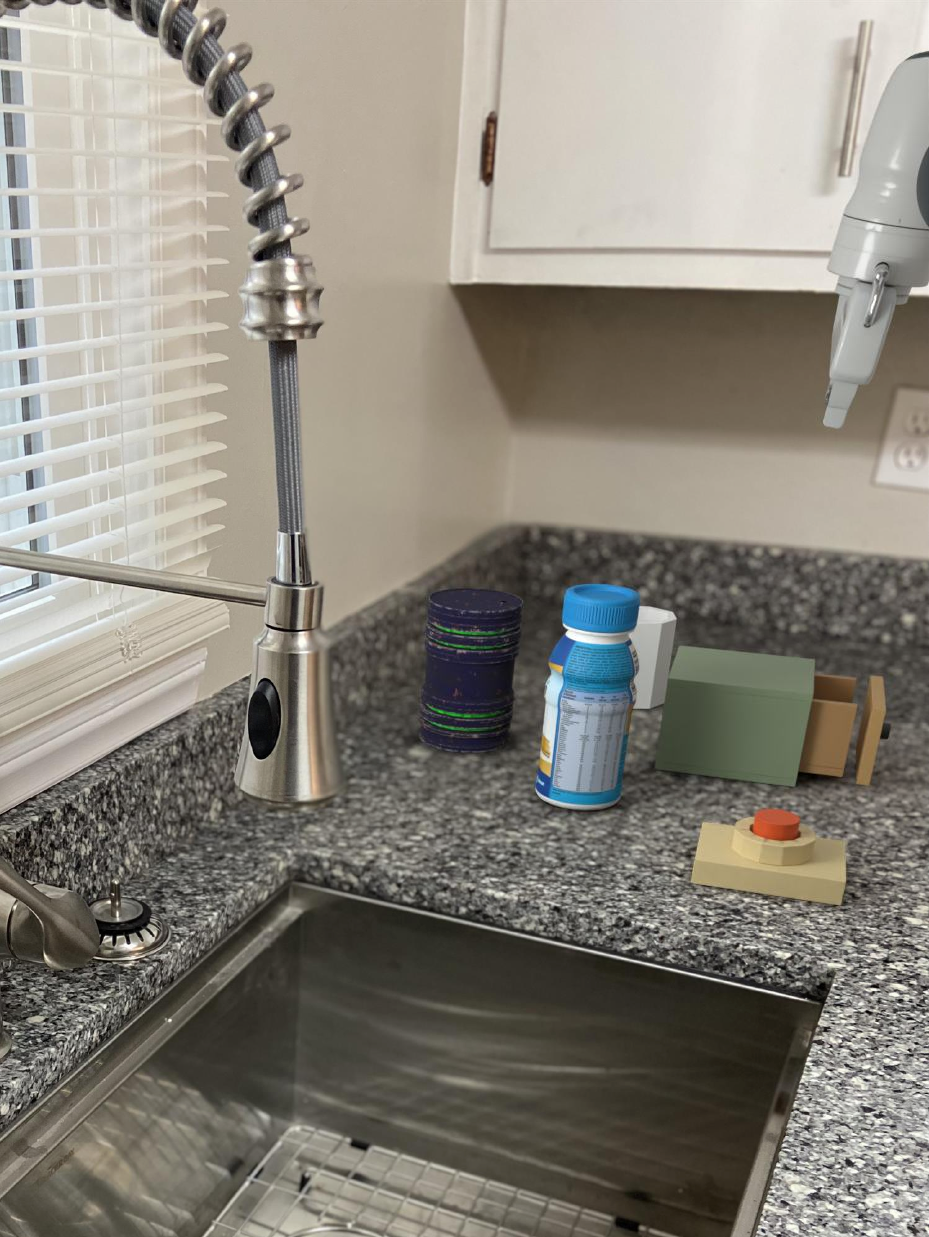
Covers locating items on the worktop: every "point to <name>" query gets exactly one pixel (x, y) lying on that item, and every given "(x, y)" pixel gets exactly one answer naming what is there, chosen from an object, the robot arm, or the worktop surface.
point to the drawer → (843, 727)
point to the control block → (771, 863)
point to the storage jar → (469, 669)
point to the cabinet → (736, 715)
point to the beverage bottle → (589, 699)
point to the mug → (653, 654)
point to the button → (776, 825)
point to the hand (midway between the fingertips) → (832, 415)
